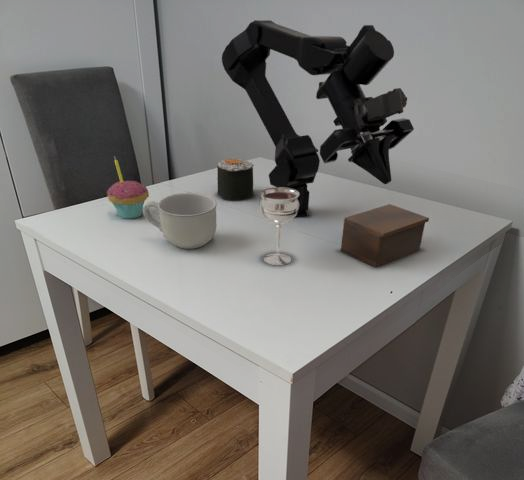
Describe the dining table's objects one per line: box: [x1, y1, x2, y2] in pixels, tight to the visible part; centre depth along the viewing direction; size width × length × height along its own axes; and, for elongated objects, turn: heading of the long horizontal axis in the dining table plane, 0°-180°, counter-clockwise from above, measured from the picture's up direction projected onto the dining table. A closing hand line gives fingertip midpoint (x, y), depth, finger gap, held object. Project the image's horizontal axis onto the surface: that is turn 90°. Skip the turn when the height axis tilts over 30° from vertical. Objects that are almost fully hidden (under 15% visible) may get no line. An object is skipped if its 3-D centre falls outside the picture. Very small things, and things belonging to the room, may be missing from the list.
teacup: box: [142, 192, 217, 250], centre depth 92 cm, size 14×11×8 cm
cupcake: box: [106, 155, 150, 219], centre depth 103 cm, size 9×8×12 cm
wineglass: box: [259, 186, 300, 266], centre depth 85 cm, size 7×7×12 cm
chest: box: [340, 221, 426, 268], centre depth 91 cm, size 9×13×6 cm
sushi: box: [217, 157, 255, 202], centre depth 116 cm, size 8×8×8 cm
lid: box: [343, 203, 430, 237], centre depth 88 cm, size 9×13×1 cm
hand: (388, 182), depth 85 cm, fingers closed
